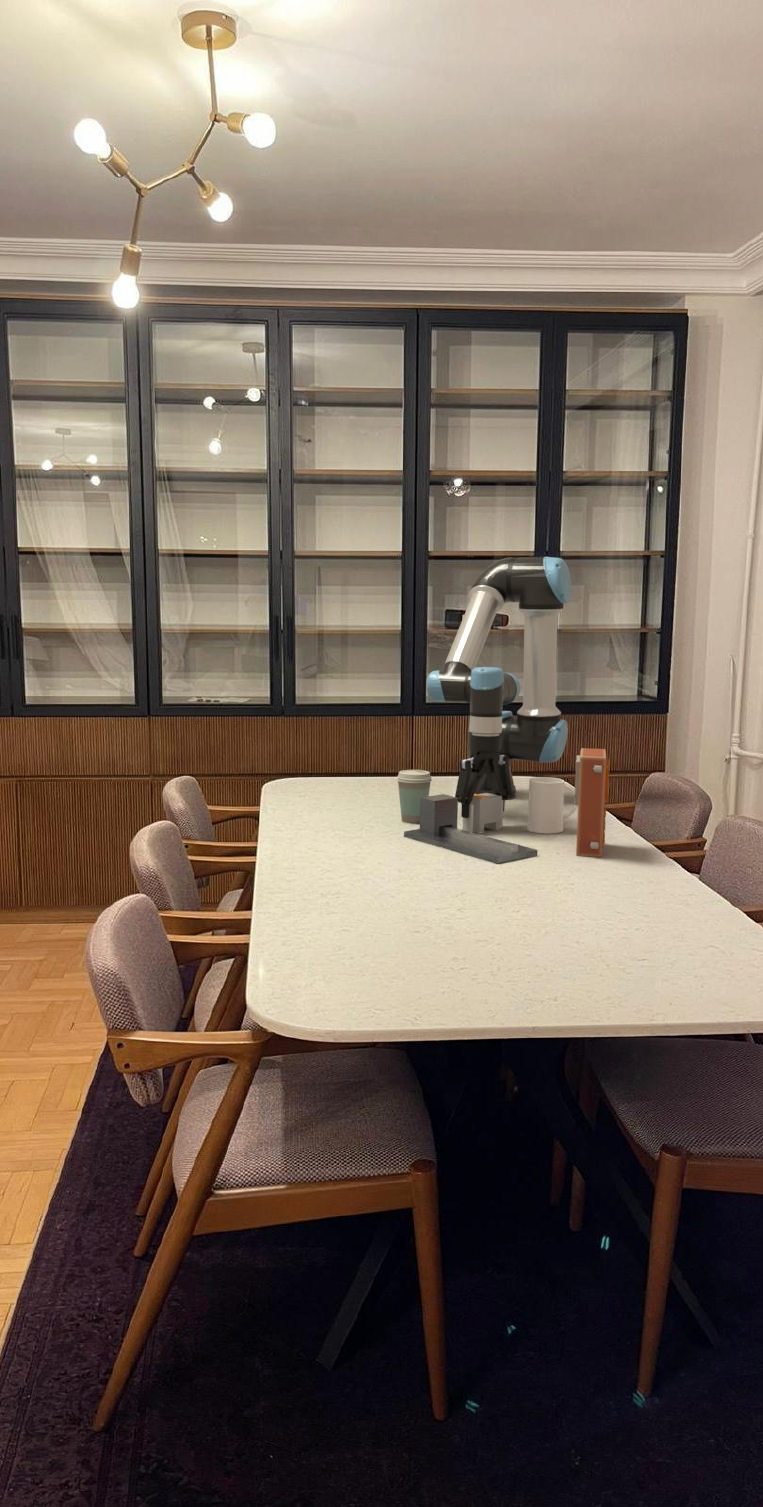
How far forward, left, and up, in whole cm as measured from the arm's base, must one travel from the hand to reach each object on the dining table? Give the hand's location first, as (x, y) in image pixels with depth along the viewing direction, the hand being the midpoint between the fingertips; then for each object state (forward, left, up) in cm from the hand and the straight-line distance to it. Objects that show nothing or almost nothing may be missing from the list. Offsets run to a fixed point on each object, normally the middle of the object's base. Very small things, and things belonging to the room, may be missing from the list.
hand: (482, 828), depth 245 cm
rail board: (+14, +10, 0) cm, 17 cm away
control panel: (-5, +28, 0) cm, 28 cm away
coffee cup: (+7, -17, 0) cm, 18 cm away
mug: (-13, +10, 0) cm, 16 cm away
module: (0, 0, 0) cm, 0 cm away
